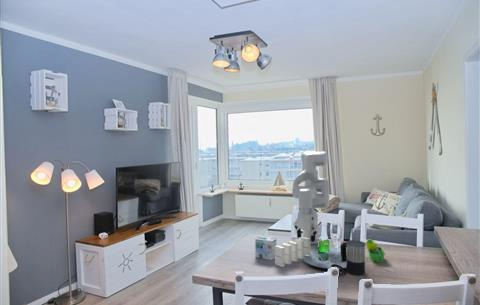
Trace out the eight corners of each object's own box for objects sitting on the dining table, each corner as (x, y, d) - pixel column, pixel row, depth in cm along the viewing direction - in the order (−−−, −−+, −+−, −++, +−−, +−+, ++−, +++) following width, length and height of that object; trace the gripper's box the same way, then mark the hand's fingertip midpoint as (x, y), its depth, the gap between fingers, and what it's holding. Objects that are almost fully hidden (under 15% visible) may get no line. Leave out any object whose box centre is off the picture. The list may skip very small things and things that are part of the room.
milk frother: (368, 271, 168) (368, 242, 168) (355, 281, 157) (355, 250, 156) (342, 264, 178) (342, 237, 177) (327, 273, 166) (327, 244, 166)
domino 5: (303, 253, 196) (303, 236, 195) (310, 255, 192) (310, 238, 192) (301, 254, 194) (301, 237, 194) (308, 256, 191) (308, 239, 190)
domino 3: (290, 258, 188) (290, 241, 188) (297, 260, 184) (297, 242, 184) (288, 259, 187) (288, 241, 186) (295, 261, 183) (295, 243, 182)
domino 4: (296, 256, 192) (296, 239, 191) (304, 258, 188) (303, 240, 188) (294, 257, 190) (294, 239, 190) (301, 259, 187) (301, 241, 186)
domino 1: (277, 263, 181) (277, 245, 180) (284, 266, 177) (284, 247, 177) (275, 264, 179) (274, 246, 179) (282, 267, 176) (282, 248, 175)
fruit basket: (385, 263, 179) (385, 242, 179) (368, 262, 181) (368, 241, 181) (380, 256, 190) (381, 236, 190) (364, 255, 192) (364, 235, 192)
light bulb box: (255, 257, 191) (254, 238, 190) (259, 253, 197) (259, 235, 196) (272, 260, 186) (272, 241, 185) (276, 256, 192) (276, 237, 191)
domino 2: (284, 261, 184) (284, 243, 184) (291, 263, 181) (291, 245, 180) (281, 262, 183) (281, 243, 183) (289, 264, 179) (288, 245, 179)
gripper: (322, 211, 188) (322, 241, 190) (297, 206, 201) (298, 234, 203) (314, 214, 184) (314, 244, 185) (289, 209, 196) (290, 237, 198)
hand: (306, 239), depth 194 cm, fingers open, 9 cm apart
